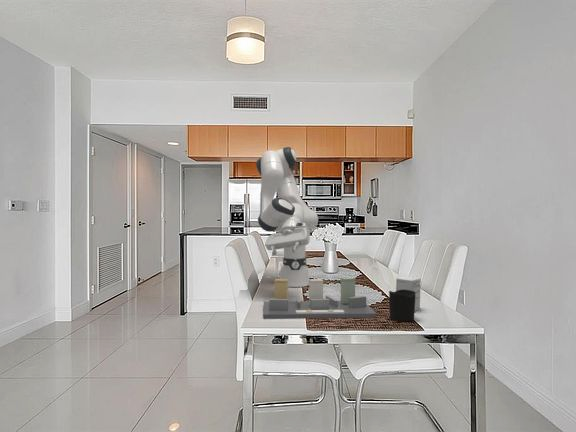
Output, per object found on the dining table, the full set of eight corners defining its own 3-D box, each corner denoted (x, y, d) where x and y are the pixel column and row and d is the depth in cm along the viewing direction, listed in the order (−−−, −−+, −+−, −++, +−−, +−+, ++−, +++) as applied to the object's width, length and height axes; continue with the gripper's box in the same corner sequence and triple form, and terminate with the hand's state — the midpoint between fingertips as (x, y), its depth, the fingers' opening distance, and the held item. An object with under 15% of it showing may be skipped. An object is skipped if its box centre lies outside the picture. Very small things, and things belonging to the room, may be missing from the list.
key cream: (308, 303, 175) (308, 279, 175) (321, 303, 176) (321, 279, 176) (310, 305, 172) (310, 280, 172) (323, 305, 173) (323, 280, 172)
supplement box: (395, 309, 175) (395, 278, 174) (403, 306, 180) (404, 275, 180) (412, 312, 170) (412, 280, 169) (420, 309, 175) (421, 277, 175)
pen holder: (415, 323, 155) (415, 295, 154) (388, 321, 157) (388, 293, 157) (415, 316, 164) (415, 290, 164) (389, 314, 166) (389, 288, 166)
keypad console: (263, 305, 181) (263, 291, 180) (363, 304, 183) (363, 291, 183) (263, 318, 160) (263, 303, 159) (376, 317, 162) (376, 302, 162)
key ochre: (275, 303, 176) (275, 278, 175) (288, 303, 175) (288, 279, 175) (274, 305, 172) (274, 280, 172) (287, 305, 172) (287, 280, 172)
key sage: (340, 302, 178) (340, 278, 178) (351, 301, 181) (351, 277, 180) (344, 303, 175) (344, 279, 175) (355, 302, 178) (355, 278, 177)
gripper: (267, 229, 198) (259, 250, 188) (308, 222, 190) (302, 244, 179) (272, 239, 201) (265, 260, 191) (313, 233, 193) (307, 254, 183)
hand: (283, 252), depth 185 cm, fingers open, 8 cm apart
